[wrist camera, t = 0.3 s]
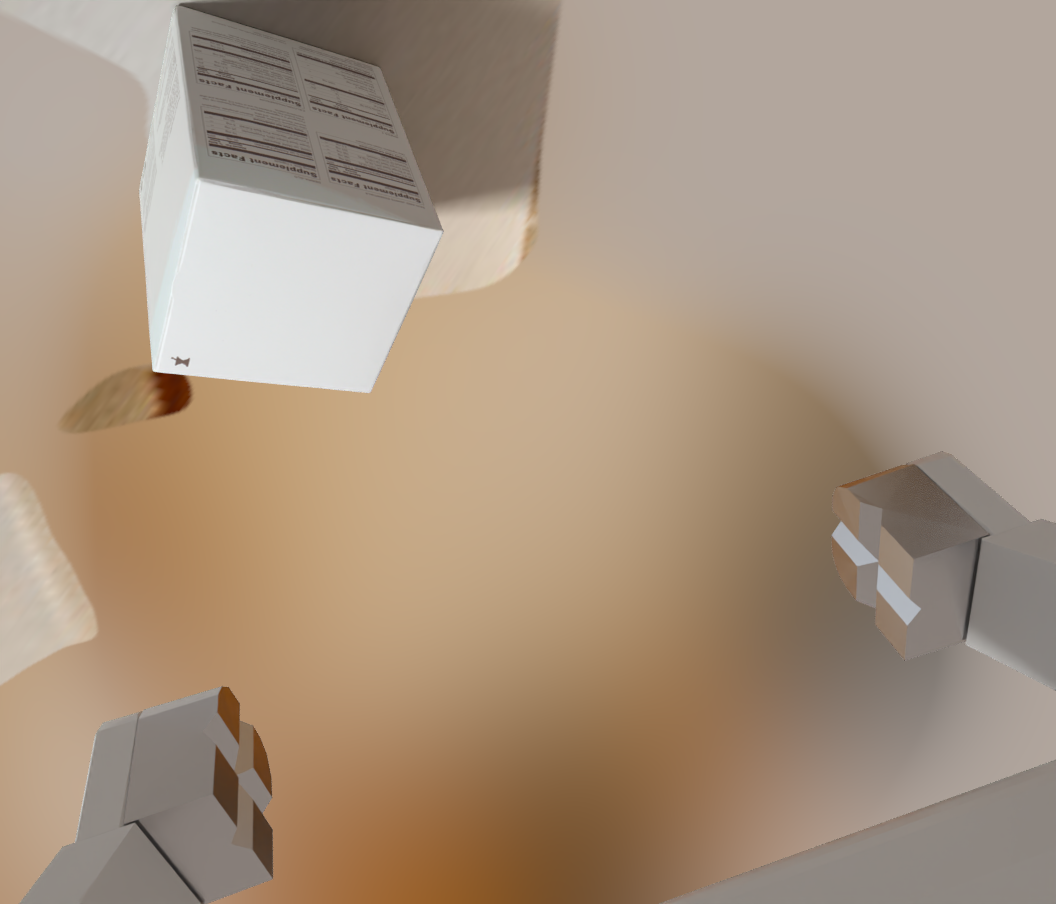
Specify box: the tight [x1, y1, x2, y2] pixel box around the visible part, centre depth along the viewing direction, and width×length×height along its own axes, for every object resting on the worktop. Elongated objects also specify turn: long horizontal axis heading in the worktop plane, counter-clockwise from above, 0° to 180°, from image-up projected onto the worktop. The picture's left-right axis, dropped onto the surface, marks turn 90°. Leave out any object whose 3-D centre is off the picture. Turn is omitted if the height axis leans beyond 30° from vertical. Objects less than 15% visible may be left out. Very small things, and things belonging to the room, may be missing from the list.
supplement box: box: [139, 6, 444, 393], centre depth 54 cm, size 13×13×18 cm
